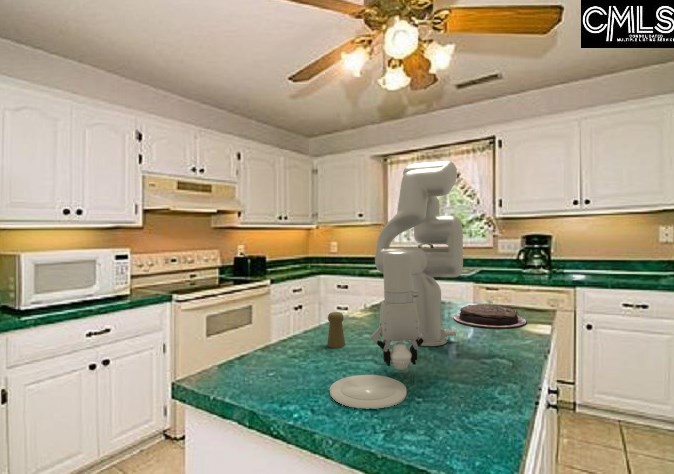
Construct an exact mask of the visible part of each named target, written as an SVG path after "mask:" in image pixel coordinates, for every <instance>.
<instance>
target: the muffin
mask: <svg viewBox="0 0 674 474" xmlns="http://www.w3.org/2000/svg"><path fill="white" fill-rule="evenodd" d="M389 351H390V363H391V364H392V365H393V368H394V369H395V370H401V371H402V370H406V369H407V368H408V366H409V364H410V362H411V361H410V360H411V357H412V353H411V352H410V349H409V348H408V347H407V344H406V343H405V342H402V341H395V343H394V344H393V345H392V348H391V349H389Z"/></svg>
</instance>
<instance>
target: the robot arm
mask: <svg viewBox="0 0 674 474" xmlns="http://www.w3.org/2000/svg"><path fill="white" fill-rule="evenodd" d="M457 175H458V172H457V166H456V165H455V163H454V162H452V161H451V160H443V161H442V160H441V161H431V162H428V161H427V162H418V163H413V164H408V165H406V166H405V168H404V169H403V172H402V178H401V183H400V190H399V195H398V196H399V197H398V203H397V211H396V214H395V216H393V217H392V218H391V219H390V220H389V221H388V222H387V223H386V224H385V226H383V228H382V229H381V231H380V233H379V235H378V239H377V243H376V249H375V255H374V262H375V263H374V264H375V268H376V269H377V271H378V272H379V273H381V274H383V298H384V301H381V303H380V310H379V326H378V328H376V330H375V331H374V332H373V333H372V334H371V335H370V340H371V341H373V343H375V344H376V345H377V346H378V347H380V348H381V350H382V351H383V357H382V358H383V362H384V363H385V364H386V365H387V367H391V360H390V346H391V343H392V342H402V341H409V342H410V346H409V351H410V352H411V353H412V357H411V360H410V362H411V364H412V365H413V366H415V365H417V364H416V363H417V362H416V361H418V350H419V348H420V346H422V347H437V346H443V345H445V344H446V343H447V337H452V336H453V337H456V336H457V331H456V330H455V329H448V328H447V329H444V328H443V326H442V324H443V323H442V321H443V320H442V289H441V287H440V285H439V283H438V282H437V280H436V279H435V278H457V277H459V276H460V275H461V274H462V273H463V268H464V267H463V266H464V239H463V237H464V236H463V235H464V232H463V224H462V220H461V219H460V218H459V217H458V216H456V215H440V214H441V213H440V201H439V198H438V197H443V196H444V197H445V196H447V195H448V194H450V192H451V191H452V189H453V188H454V186H455V184H456V182H457V177H458V176H457ZM412 228H413V236H414V240H415V242H416V243H418V244H422V245H446V246H447V247H448V248H446V247H445V248H444V247H443V248H441V247H440V248H439V247H438V248H436V247H423V248H419V247H403V246H400V247H399V246H397V247H396V246H393V247H390V246H391V243H392V242H393V241H394V239H395V238H396V237H398V236H399V235H400V234H402V233H404V232H406V231H408V230H410V229H412ZM379 336H381V338H382V340H383V341H382V340H381V339H379Z"/></svg>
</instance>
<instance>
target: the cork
mask: <svg viewBox="0 0 674 474" xmlns="http://www.w3.org/2000/svg"><path fill="white" fill-rule="evenodd" d="M327 321H328V322H329V325H328V326H329V328H328V334H327V335H328V336H327V343H326V344H327V345H326V346H327V347H328V348H331V349H339V348H344V347H345V346H346V340H345V334H344V329H343V321H344V314H343V313H342V312H340V311H332V312H330V313H329V314H328V316H327Z"/></svg>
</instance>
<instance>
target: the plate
mask: <svg viewBox="0 0 674 474" xmlns="http://www.w3.org/2000/svg"><path fill="white" fill-rule="evenodd" d="M329 396H330V398H331V397H332V398H333V399H334V400H335V401H336V402H338V403H340V404H342V405H341V406H343V405H345V406H349V407H356V408H366V409H369V408H384V407H389V408H391V407H390V406H392V407H395V406H398V405H400V404H401V403H403V402H404V401H405V400H406V398H407V387H406V386H405V384H404V383H402V382H401V381H399V380H398V379H394V378H392V377H388V376H385V375H377V374H360V375H359V374H358V375H352V376H351V375H350V376H346V377H343V378H341V379H338V380H336V381H334V382H333V383H332V384H331V385H330V388H329ZM332 398H331V399H332ZM333 399H332V400H333ZM334 400H333V401H334ZM335 401H334V402H335ZM336 402H335V403H336ZM338 403H337V404H338ZM340 404H339V405H340ZM397 404H398V405H397ZM394 405H395V406H394ZM345 406H344V407H345ZM349 407H348V408H349Z"/></svg>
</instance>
